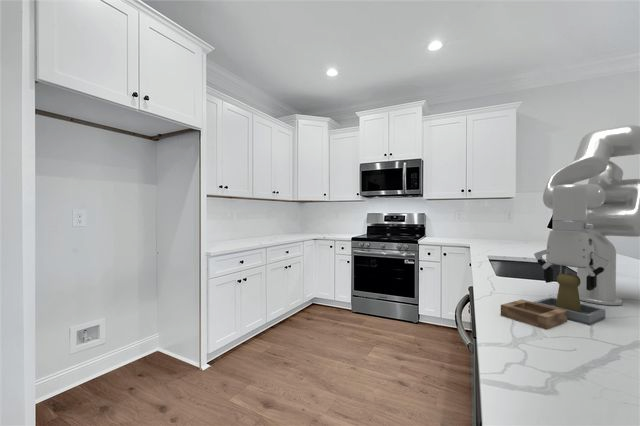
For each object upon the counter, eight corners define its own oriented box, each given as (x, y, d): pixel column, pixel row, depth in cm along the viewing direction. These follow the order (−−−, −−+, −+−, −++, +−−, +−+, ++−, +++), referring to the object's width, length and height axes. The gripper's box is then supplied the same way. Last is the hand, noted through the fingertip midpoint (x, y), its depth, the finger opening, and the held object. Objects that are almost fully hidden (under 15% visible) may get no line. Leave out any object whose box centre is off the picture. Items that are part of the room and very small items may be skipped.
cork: (587, 316, 80) (587, 277, 80) (562, 314, 81) (562, 275, 81) (573, 309, 86) (574, 272, 86) (550, 307, 87) (550, 271, 87)
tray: (550, 305, 92) (550, 297, 92) (605, 318, 80) (605, 309, 80) (533, 310, 87) (533, 302, 87) (589, 325, 75) (589, 315, 75)
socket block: (521, 309, 87) (521, 299, 87) (567, 321, 78) (567, 310, 78) (500, 315, 82) (500, 304, 82) (546, 329, 72) (546, 317, 72)
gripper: (615, 228, 78) (614, 291, 78) (541, 225, 93) (540, 278, 93) (604, 229, 74) (603, 295, 74) (528, 225, 89) (528, 281, 90)
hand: (568, 285), depth 84 cm, fingers open, 9 cm apart
